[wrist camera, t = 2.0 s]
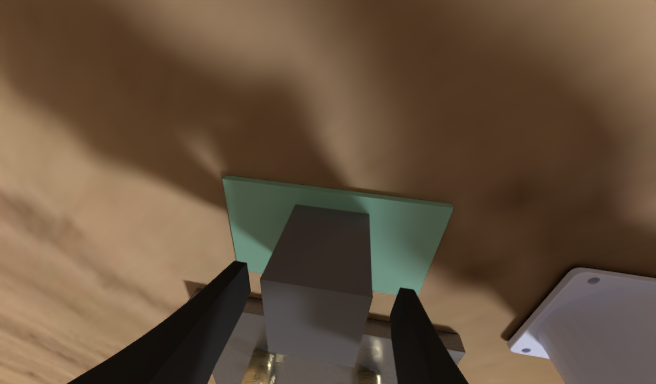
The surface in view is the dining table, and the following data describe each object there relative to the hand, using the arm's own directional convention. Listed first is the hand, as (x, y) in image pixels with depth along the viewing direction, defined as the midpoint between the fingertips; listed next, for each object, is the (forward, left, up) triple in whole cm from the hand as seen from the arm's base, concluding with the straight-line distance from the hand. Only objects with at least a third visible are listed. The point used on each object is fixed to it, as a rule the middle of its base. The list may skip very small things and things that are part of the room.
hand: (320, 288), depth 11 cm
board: (0, 0, -4) cm, 4 cm away
